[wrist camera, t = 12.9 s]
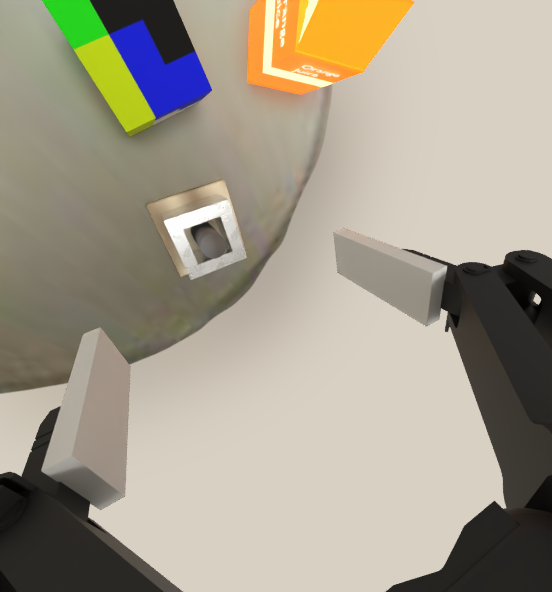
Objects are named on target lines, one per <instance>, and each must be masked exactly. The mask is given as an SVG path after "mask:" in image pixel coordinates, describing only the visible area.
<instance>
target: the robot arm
mask: <svg viewBox="0 0 552 592" xmlns="http://www.w3.org/2000/svg"><path fill="white" fill-rule="evenodd" d="M334 242H335V252H336V262H337V271H338V273H339V274H341V275H342V276H344V277H346V278H347V279H349V280H351V281H352V282H354V283H356V284H357V285H359V286H361V287H362V288H364V289H366V290H367V291H369V292H370V293H372V294H374V295H376V296H377V297H379V298H380V299H382V300H384V301H385V302H387V303H389V304H390V305H392V306H394V307H396V308H397V309H399V310H401V311H402V312H404V313H405V314H407V315H408V316H410V317H412V318H413V319H415V320H417V321H418V322H420V323H422V324H423V325H425V326H428V325H430V324H432V323H434V322H435V321H437V320H439V317H440V311H441V308H442V309H444V310H446V311H448V315H447V320H446V327H445V332H448V329H449V327H450V328H451V330H452V333H453V336H454V339H455V342H456V344H457V347H458V350H459V353H460V356H461V359H462V362H463V364H464V367H465V370H466V373H467V375H468V378H469V381H470V384H471V386H472V390H473V392H474V395H475V398H476V401H477V404H478V407H479V409H480V412H481V415H482V418H483V420H484V423H485V426H486V429H487V432H488V435H489V438H490V440H491V443H492V446H493V449H494V452H495V454H496V457H497V460H498V463H499V466H500V468H501V472H502V477H503V494H504V500H505V504H506V507H507V508H506V509H503V508H501V507H500V506H499V505H498V504H497V503H496V502H495V501H494V502H492V503H491V504H490V505H489V506H488V507H486V508H485V509H484V510H483V511H482V512H480V513H479V514H478V515H477V516H476V517H474V518H473V519H472V520H471V521H470V522H468V523H467V524H466V525H465V526H464V528H463V530H462V532H461V534H460V536H459V538H458V540H457V542H456V544H455V546H454V548H453V550H452V551H451V554H450V555H449V557H448V560H447V562H446V563H445V565H444V567H443V568H442V569H441V570H440V571H437V572H435V573H431V574H428V575H425V576H422V577H419V578H415V579H412V580H409V581H406V582H403V583H399V584H396V585H393V586H392V587H391V588H390V589H389V590H387V591H386V592H552V259H551V258H549V257H547V256H545V255H543V254H541V253H538V252H533V251H530V250H527V251H526V250H521V251H513V252H510V253H508V254H507V255H506V256H505V260H504V264H502V265H497V266H493V267H491V266H488V265H486V264H482V263H477V262H468V263H462V264H460V265H458V266H456V265H453V264H450V263H448V262H445V261H442V260H439V259H436V258H434V257H430V256H428V255H425V254H424V255H423V254H422V253H419V252H417V251H414V250H408V249H399V248H397V247H394V246H391V245H389V244H386V243H383V242H381V241H377V240H375V239H373V238H370V237H367V236H364V235H361V234H359V233H356V232H353V231H351V230H348V229H345V228H343V229H341V230H338V231H336V232H334ZM536 293H537V294H538V295H539V296H540V297H541V302H540V304H539V305H538V304H536V303H535V302H534V301H533V299H534V297H535V294H536ZM129 385H130V365H129V364H128V363H127V361H126V360H125V359H124V357H123V356H122V355H121V353H120V352H119V351H118V350H117V348H116V347H115V346H114V344H113V343H112V342H111V340H110V339H109V338H108V336H107V335H106V334H105V333H104V331H103V330H102V329H101V327H100V328H97V329H95V330H92V331H90V332H88V333H85V334H83V337H82V340H81V343H80V346H79V350H78V353H77V356H76V359H75V362H74V366H73V369H72V372H71V375H70V379H69V382H68V385H67V388H66V392H65V395H64V398H63V401H62V405H61V406H60V407H58V408H56V409H54V410H51V411H50V412H49V414H48V415H47V416H46V418H45V419H44V420H43V422H42V423H41V425H40V427H39V430H38V432H37V435H36V438H35V439H36V441H34V443H33V446H32V449H31V450H32V452H30V454H29V457H28V460H27V463H26V466H25V468H24V471H23V474H22V477H21V476H19V475H17V474H16V473H12V472H7V473H3V474H0V592H182V591H181V590H180V589H179V588H177V587H176V586H175V585H174V584H172V583H171V582H170V581H168V580H167V579H166V578H165V577H164V576H162V575H161V574H160V573H159V572H157V571H156V570H155V569H154V568H152V567H151V566H150V565H149V564H147V563H146V562H145V561H143V560H142V559H141V558H140V557H139V556H137V555H136V554H135V553H133V552H132V551H131V550H130V549H128V548H127V547H126V546H125V545H123V544H122V543H121V542H120V541H118V540H117V539H116V538H115V537H113V536H112V535H111V534H110V533H108V532H107V531H106V530H104V529H103V528H102V527H101V526H99V525H98V524H97V523H96V522H95V521H93V520H91V519H90V518H88V513H89V506H90V504H92V505H94V506H95V507H97V508H98V509H100V510H102V509H104V508H105V507H107V506H109V505H111V504H112V503H114V502H116V501H118V500H120V499H121V498H123V497H125V483H126V460H127V459H126V457H127V435H128V412H129V387H130V386H129Z"/></svg>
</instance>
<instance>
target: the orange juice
mask: <svg viewBox="0 0 552 592" xmlns="http://www.w3.org/2000/svg"><path fill="white" fill-rule="evenodd" d="M413 4H414V2H413V1H412V0H258V1H257V2H256V3H255V4H254V6H253V7H252V8H251V10H250V16H249V48H248V80H247V83H251V84H255V85H260V86H265V87H269V88H274V89H278V90H283V91H287V92H292V93H296V94H304V93H307V92H309V91H312V90H315V89H318V88H320V87H324V86H327V85H330V84H333V83H334V82H337V81H340V80H343V79H345V78H348V77H351V76H354V75H356V74H359V73H363V72H364V70H365V68H366V67H367V66H368V64H369V63H370V61H371V60H372V59H373V58H374V56H375V55H376V54H377V52H378V51H379V49H380V48H381V47H382V45H383V44H384V43H385V41H386V40H387V39H388V37H389V36H390V35H391V33H392V32H393V31H394V29H395V28H396V27H397V25H398V24H399V22H400V21H401V20H402V18H403V17H404V16H405V14H406V13H407V12H408V10H409V9H410V7H411V6H412V5H413Z"/></svg>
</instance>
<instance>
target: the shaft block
mask: <svg viewBox="0 0 552 592" xmlns="http://www.w3.org/2000/svg"><path fill="white" fill-rule="evenodd" d="M216 194H220V195H221V196H223V197H225V198H227V199H229V202H230V206H231V209H232V212H233V215H234V218H235V221H236V225H237V228H238V231H239V234H240V237H241V240H242V244H243V247H244V250H245V251H246V248H245V245H244V242H243V239H242V235H241V232H240V229H239V226H238V223H237V219H236V216H235V213H234V210H233V207H232V203H231V200H230V197H229V194H228V191H227V187H226V184H225V181H224V180H219V181H216V182H213V183H210V184H207V185H204V186H200V187H197V188H194V189H191V190H188V191H185V192H182V193H179V194H175V195H172V196H169V197H166V198H163V199H160V200H157V201H154V202H150V203H147V204H146V207H147V209H148V211H149V213H150V215H151V217H152V219H153V221H154V223H155V225H156V227H157V229H158V231H159V234H160V236H161V238H162V240H163V242H164V244H165V246H166V248H167V250H168V252H169V254H170V256H171V258H172V260H173V262H174V264H175V266H176V268H177V270H178V272H179V274H180V276H181V277H182V276H184V275H187V274H188V272H187V270H186V268H185V266H184V264H183V262H182V259H181V257H180V255H179V253H178V251H177V249H176V247H175V244H174V242H173V240H172V238H171V236H170V234H169V232H168V229H167V227H166V225H165V223H164V221H163V218H162V215H161V213H162V212H165V211H168V210H171V209H174V208H177V207H180V206H183V205H186V204H189V203H192V202H195V201H198V200H201V199H204V198H207V197H210V196H213V195H216ZM183 231H184V233H185V236H186V238H187V240H188V243H189V245H190V247H191V249H192V252H194V251H197V250H200V249H201V251H202V253H203V254H204V255H205V256H206V257H208V258H211V259H216V258H219V257H221V256H222V255H223V254H224V253H225V251H226V241H225V239H224V238H223V237H222V236H221V234H220V232H219V229H218V226H217V223H216V220H215V219H212V220H209V221H206V222H203V223H200V224H198V225H195V226H192V227H189V228H186V229H183Z"/></svg>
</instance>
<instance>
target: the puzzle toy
mask: <svg viewBox="0 0 552 592" xmlns="http://www.w3.org/2000/svg"><path fill="white" fill-rule="evenodd" d="M42 1H43V3H44V4H45V6H46V7H47V9H48V10H49V12H50V14H51V15H52V17H53V18H54V20H55V21H56V23H57V25H58V26H59V28H60V29H61V31H62V32H63V34H64V35H65V37H66V39H67V40H68V42H69V43H70V45H71V46H72V48H73V50H74V51H75V53H76V54H77V56H78V57H79V59H80V60H81V62H82V64H83V65H84V67H85V68H86V70H87V71H88V73H89V75H90V76H91V78H92V79H93V81H94V82H95V84H96V86H97V87H98V89H99V90H100V92H101V93H102V95H103V96H104V98H105V100H106V101H107V103H108V104H109V106H110V107H111V109H112V111H113V112H114V114H115V115H116V117H117V118H118V120H119V121H120V123H121V125H122V126H123V128H124V129H125V131H126V132H127V134H128V135H129V136H130V137H131V136H133V135H135V134H137V133H139V132H141V131H143V130H145V129H147V128H149V127H151V126H153V125H155V124H157V123H159V122H161V121H163V120H165V119H167V118H169V117H171V116H173V115H175V114H177V113H179V112H181V111H183V110H185V109H187V108H189V107H191V106H193V105H195V104H197V103H198V102H199V101H200V100H202V99H203V98H204V97H205V96H206V95H207V94H208V93H210V92H211V91H212V89H211V86H210V84H209V82H208V80H207V77H206V75H205V73H204V70H203V68H202V66H201V63H200V61H199V59H198V56H197V54H196V52H195V49H194V47H193V45H192V43H191V40H190V38H189V36H188V33H187V31H186V29H185V26H184V24H183V22H182V19H181V17H180V15H179V13H178V10H177V8H176V6H175V3H174V1H173V0H42Z"/></svg>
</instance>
